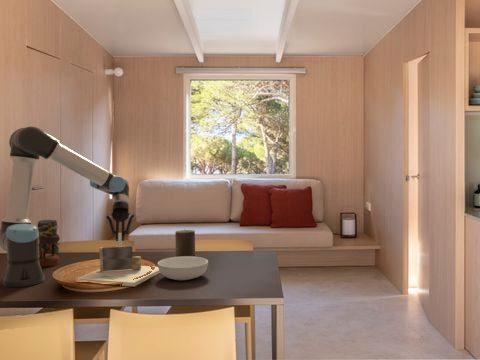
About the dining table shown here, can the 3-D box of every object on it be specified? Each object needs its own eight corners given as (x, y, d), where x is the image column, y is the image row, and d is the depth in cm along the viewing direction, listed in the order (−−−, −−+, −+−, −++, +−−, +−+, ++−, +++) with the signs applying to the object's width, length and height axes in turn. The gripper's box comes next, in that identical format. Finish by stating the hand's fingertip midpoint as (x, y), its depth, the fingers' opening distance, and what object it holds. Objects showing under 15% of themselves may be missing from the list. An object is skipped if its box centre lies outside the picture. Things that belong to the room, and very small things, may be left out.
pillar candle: (190, 261, 220) (189, 230, 219) (172, 259, 223) (171, 229, 222) (198, 257, 229) (198, 227, 228) (181, 256, 232) (180, 226, 232)
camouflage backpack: (61, 252, 246) (59, 218, 245) (52, 256, 238) (51, 220, 238) (44, 252, 248) (43, 218, 247) (36, 255, 240) (34, 220, 239)
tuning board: (134, 286, 177) (134, 282, 177) (75, 282, 185) (75, 278, 185) (164, 270, 202) (164, 266, 202) (111, 267, 210) (111, 263, 210)
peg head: (141, 267, 200) (140, 244, 200) (141, 269, 196) (140, 246, 196) (101, 270, 197) (100, 246, 197) (99, 272, 193) (99, 248, 193)
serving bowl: (161, 286, 176) (160, 269, 176) (155, 274, 196) (155, 258, 196) (213, 281, 182) (213, 264, 182) (202, 269, 202) (202, 254, 202)
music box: (45, 268, 210) (44, 225, 209) (27, 267, 214) (26, 224, 213) (69, 261, 224) (67, 221, 223) (52, 260, 228) (50, 220, 227)
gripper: (134, 209, 224) (135, 250, 208) (107, 211, 221) (105, 251, 206) (134, 200, 218) (134, 240, 203) (106, 201, 216) (104, 242, 200)
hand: (119, 246), depth 204 cm, fingers closed
